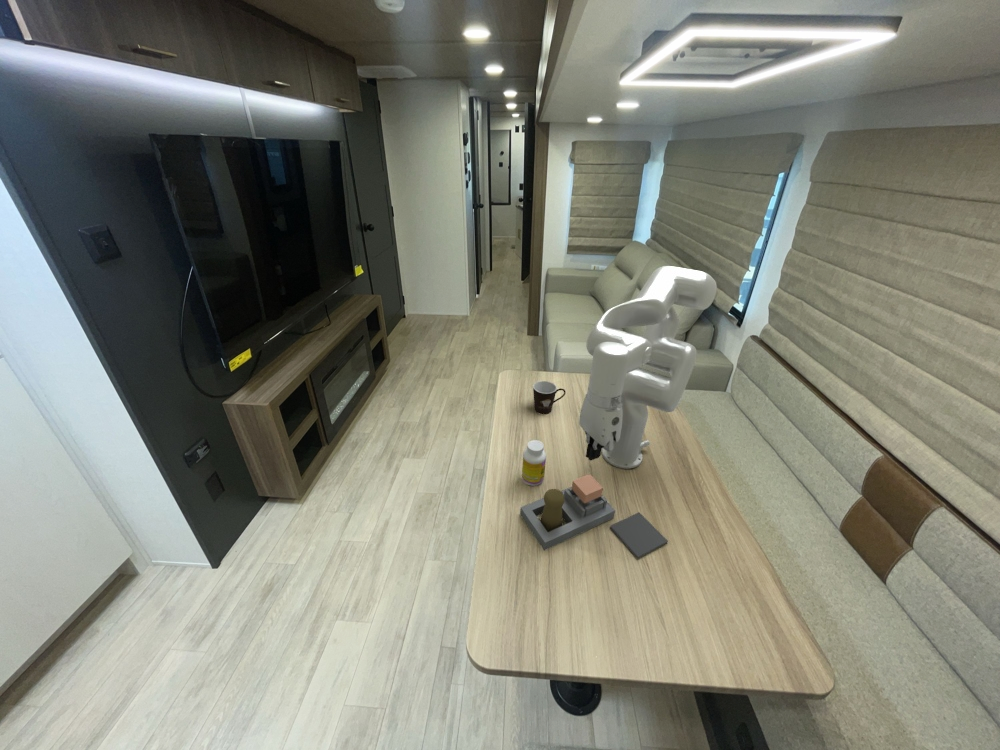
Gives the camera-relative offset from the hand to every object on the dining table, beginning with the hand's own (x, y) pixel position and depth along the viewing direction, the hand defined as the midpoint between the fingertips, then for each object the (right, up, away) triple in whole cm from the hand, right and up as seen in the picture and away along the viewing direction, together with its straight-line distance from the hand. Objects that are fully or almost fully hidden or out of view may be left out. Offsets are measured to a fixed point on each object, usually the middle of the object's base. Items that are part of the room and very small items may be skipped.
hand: (592, 457), depth 98 cm
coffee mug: (-6, +7, +50) cm, 50 cm away
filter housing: (-5, -17, +8) cm, 20 cm away
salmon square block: (0, -11, +6) cm, 13 cm away
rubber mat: (+12, -21, +3) cm, 24 cm away
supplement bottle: (-13, -11, +19) cm, 26 cm away
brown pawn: (-10, -19, +6) cm, 22 cm away
